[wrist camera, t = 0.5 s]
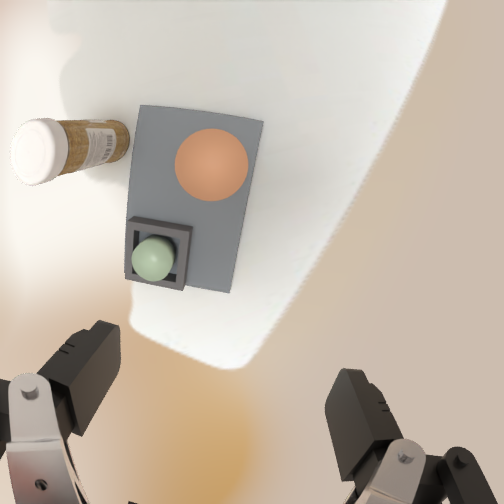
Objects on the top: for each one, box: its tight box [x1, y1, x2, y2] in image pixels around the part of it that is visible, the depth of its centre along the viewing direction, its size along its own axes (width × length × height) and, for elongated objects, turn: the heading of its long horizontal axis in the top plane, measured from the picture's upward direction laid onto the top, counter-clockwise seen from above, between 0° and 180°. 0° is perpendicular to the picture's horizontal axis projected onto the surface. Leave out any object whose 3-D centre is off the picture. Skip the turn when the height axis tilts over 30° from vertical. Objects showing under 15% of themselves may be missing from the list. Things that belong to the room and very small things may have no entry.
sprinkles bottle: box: [10, 118, 129, 186], centre depth 21 cm, size 5×5×13 cm
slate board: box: [124, 105, 263, 293], centre depth 28 cm, size 18×12×3 cm, turn 169°
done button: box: [132, 235, 176, 281], centre depth 29 cm, size 4×4×2 cm
